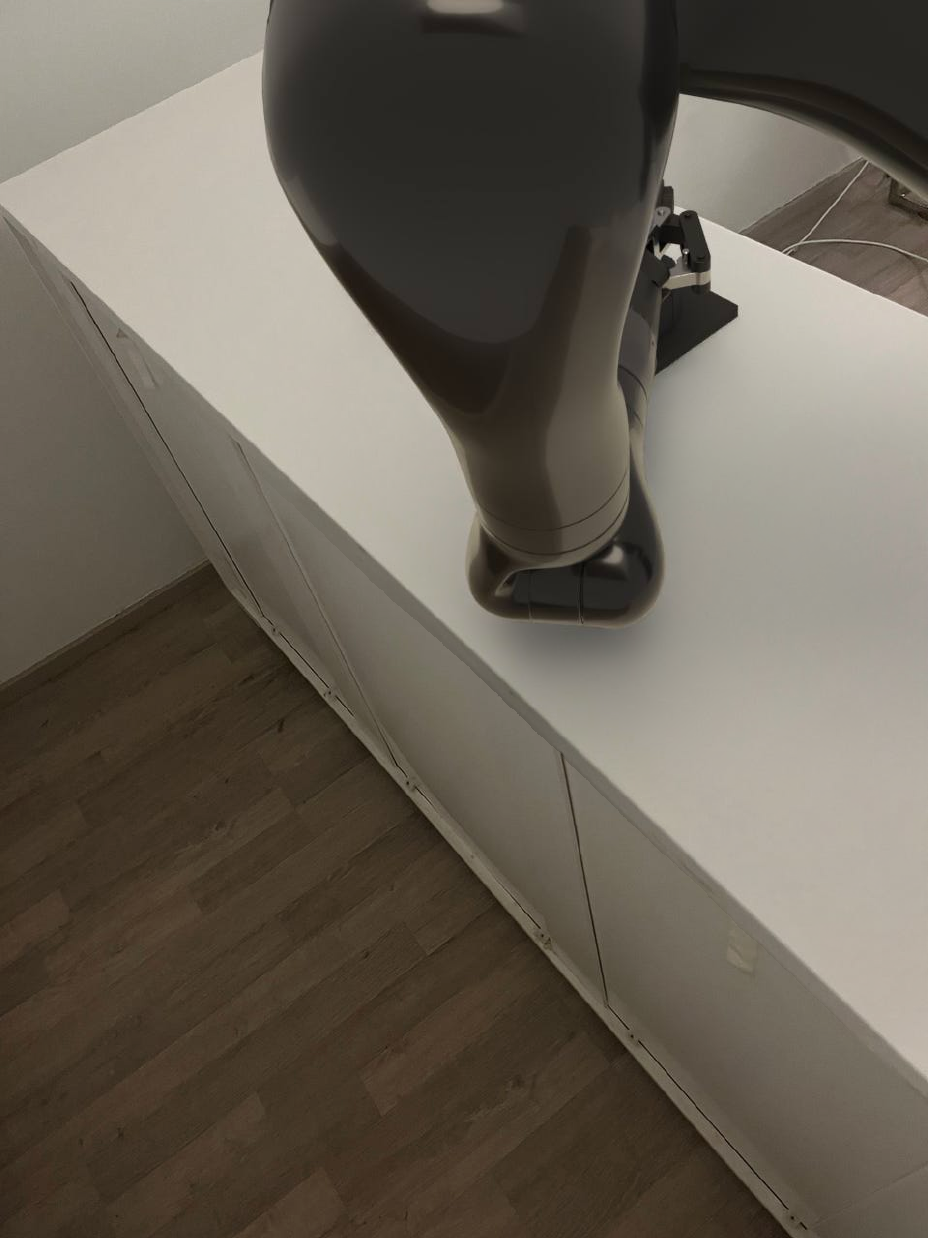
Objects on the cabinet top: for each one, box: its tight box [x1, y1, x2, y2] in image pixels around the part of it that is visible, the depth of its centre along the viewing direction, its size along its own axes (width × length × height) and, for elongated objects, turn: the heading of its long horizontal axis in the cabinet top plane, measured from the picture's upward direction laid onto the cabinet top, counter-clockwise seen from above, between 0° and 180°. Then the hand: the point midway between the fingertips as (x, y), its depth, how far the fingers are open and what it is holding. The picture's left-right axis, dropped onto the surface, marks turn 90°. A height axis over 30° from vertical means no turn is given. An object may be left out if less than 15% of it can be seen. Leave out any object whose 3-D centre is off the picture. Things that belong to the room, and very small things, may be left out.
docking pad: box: [654, 253, 739, 376], centre depth 74 cm, size 12×12×4 cm
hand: (618, 194), depth 70 cm, fingers closed on beverage can, 5 cm apart
